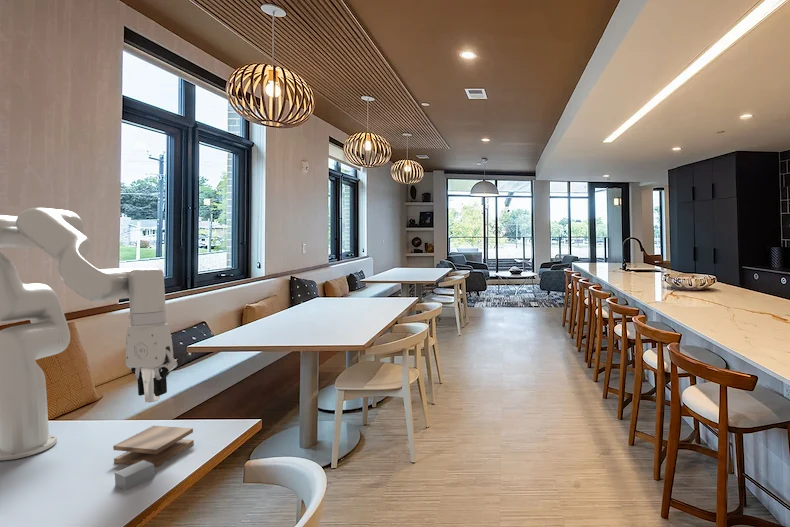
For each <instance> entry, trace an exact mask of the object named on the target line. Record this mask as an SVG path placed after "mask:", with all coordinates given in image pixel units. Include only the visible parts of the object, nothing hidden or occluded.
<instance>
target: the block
mask: <svg viewBox="0 0 790 527" xmlns="http://www.w3.org/2000/svg"><path fill="white" fill-rule="evenodd" d="M154 477H155V467H154V464H153V463H150V462H147V461H144V460H143V461H140V462H138V463H136V464H133V465H131V464H130V465H129V466H127V467H125V468H122V469H119V470H117V471H115V472H114V483H115V484H114V485H115V487H117V488H120V489H122V490H124V491H127V490H129V489H132V488H134V487H136V486H139V485H140V484H142V483H145V482H146V481H149V480H151V479H152V478H154Z"/></svg>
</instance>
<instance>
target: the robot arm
mask: <svg viewBox="0 0 790 527" xmlns="http://www.w3.org/2000/svg"><path fill="white" fill-rule="evenodd" d="M84 232H85V225H84V222H83V220H82V218H81V217H80V216H79V215H78V214H77V213H75V212H73V211H70V210H66V209H60V208H59V209H56V208H49V207H48V208H47V207H30V208H27V209H25V210H23V211H21V212H20V213H19V214H18V215H16V216H15V215H6V214H5V215H4V214H0V250H1V249H8V250H9V249H13V250H15V249H17V250H18V249H19V250H21V249H23V250H25V249H27V250H29V249H31V250H32V249H39V250H41V251H43V253H46V255H48V256H49V257H51V258H52V259H54V260H55V261H56V268H57V273H58V275H59V277H60V279H61V281H62V282H63V284H65V285H66V286H67V287H68V288H70V289H71V290H72V291H74V292H75V293H76V294H78V295H79V296H80V297H82V298H84V299H86V300H88V301H90V302H94V303H96V302H97V303H101V302H110V301H115V300H124V299H129V301H128V302H129V315H128V319H129V320H130V325H128V327H127V330H126V338H125V366H126V368H128V369H129V370H130V371H131V372H132V373H133V375H134V379H136V380H137V392H138V393H137V394H138V396H144V395H143V384H142V375H141V368H154V371H155V375H156V380H154V389H155V396H163V395H164V394H167V392H168V388H167V386H168V385H167V384H168V382H167V377H169V374H170V373H171V372H172V371H173V370H174V369H175V368H177V366H178V363H177V361H176V360H175V358H174V349H173V348H174V347H173V340H172V335H171V330H170V329H171V328H170V326H169V323H167V311H166V291H165V288H166V287H165V274H164V271H163V269H161V268H158V267H145V268H142V267H141V268H129V267H126V268H125V267H124V268H122V267H121V268H101V269H99V268H97V267H96V266H94V265H92V264H91V263H90V262H88V260H86V257H87V256H88V255H89V254H90V251H91V249H92V242H91V240H90V239H89V238H88V237H87V236H86V235H84ZM25 320H29V321H30V323H26V324H25V323H24V324H21V325H20V324H19V325H14V326H10V327H6V328H4V329H1V330H0V461H11V460H18V459H21V458H25V457H30V456H33V455H36V454H39V453H42V452H45V451H46V450H48V449H50V448H52V447H53V446H55V445H56V443H57V442H58V441H57V440H58V439H57V436H56V435H53V434H49V433H50V432H49V416H48V413H49V412H48V400H47V399H48V397H47V396H48V395H47V383H46V376H45V373H44V371H43V369H42V368H41V367H40V366H39V364H38V363H37V360H40V359H44V358H47V357H48V358H49V357H50V356H54V355H58V354H60V353H62V352H64V351H65V350H67V348H68V347H69V344H70V343H71V332H70V328H69V324H68V322H67V318H66V316H65V313H64V309H63V307H62V303H61V301H60V299H59V296H58V294H57V293H56V292H55V290H54V289H53V288H52V287H50V286H49V285H47V284H44V283H39V282H31V283H24V282H22V280H21V277H20V274H19V271H18V268H17V267H16V266H15V264H14V263H13V261H12V260H11V259H10V258H9V257H8V256H6V255H5V254H4V253H3V252H1V251H0V324H3V323H5V324H6V323H14V322H20V321H25ZM160 368H162V371H160Z"/></svg>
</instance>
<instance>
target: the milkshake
mask: <svg viewBox="0 0 790 527" xmlns="http://www.w3.org/2000/svg"><path fill="white" fill-rule="evenodd" d="M160 371H162V368H160ZM141 375H142V384H143V395H142V396H143V401H144V402H145V403H154V402H155V403H156V402H157V401H160V396H161V395H160V396H155V389H154V380H156V375H155V371H154V368H141Z"/></svg>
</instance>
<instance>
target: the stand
mask: <svg viewBox="0 0 790 527" xmlns="http://www.w3.org/2000/svg"><path fill="white" fill-rule="evenodd" d="M193 433H194V428H193V427H192V428H191V427H180V426H179V427H177V426H165V425H163V426H162V425H151V426H150V427H148V428H145V429H144V430H142V431H140V432H138V433H136V434H134V435H132V436H130V437H128V438H126V439H124V440H122V441H120V442H118V443H116V444H114V445H112V446H113V447H112V448H113V451H117V452H118V451H119V452H120V451H121V452H123V453H122V454H119V455H118V456H116V457H114V458H113V463H114V464H123V465H130V466H131V465H133V464H136V463H138V462H140V461H143V460H144V461H147V462H150V463H153V464H154V468H158V467H160V466H161V465H162V464H165V463H166V462H167V461H169V460H171V459H173V458H174V457H176V456H177V455H179V454H180V453H182V452H183V451H185V450H186V449H188V448H190V447H191V446H193V445H194V444H195V442H194V440H193V439H186V437H188V436H189V435H191V434H193Z"/></svg>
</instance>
